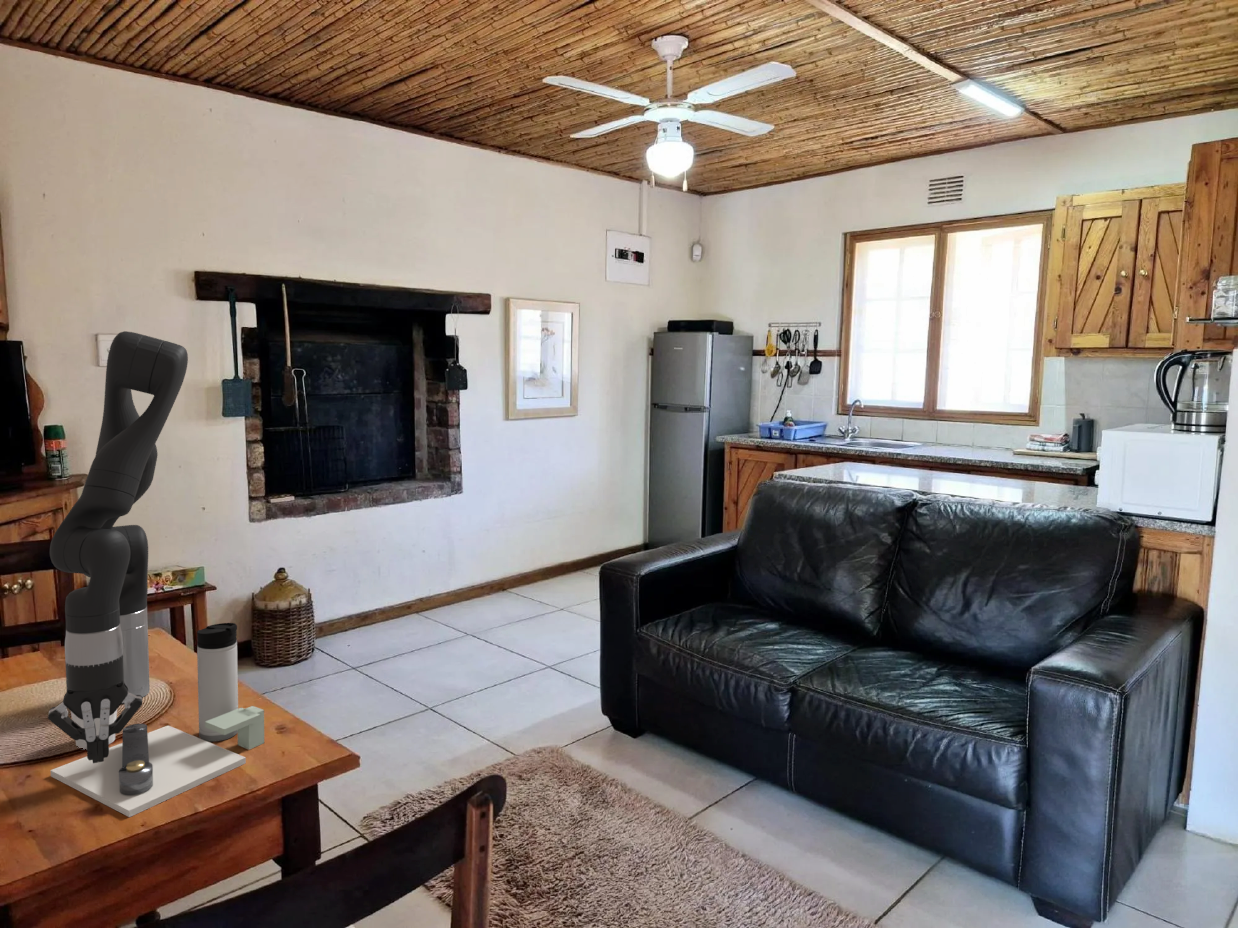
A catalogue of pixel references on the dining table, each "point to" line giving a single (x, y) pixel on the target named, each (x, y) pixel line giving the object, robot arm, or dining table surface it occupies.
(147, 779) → the link
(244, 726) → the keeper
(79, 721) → the white cup
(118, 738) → the dining table surface
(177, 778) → the base plate
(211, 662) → the travel mug
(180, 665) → the dining table surface
